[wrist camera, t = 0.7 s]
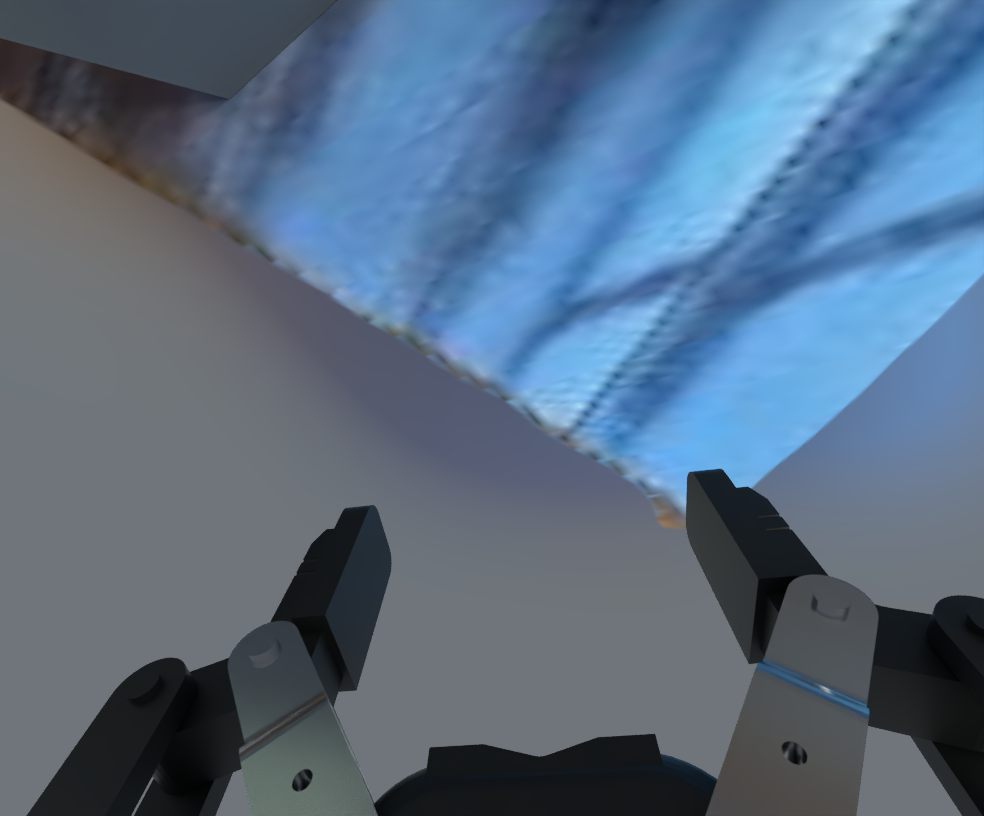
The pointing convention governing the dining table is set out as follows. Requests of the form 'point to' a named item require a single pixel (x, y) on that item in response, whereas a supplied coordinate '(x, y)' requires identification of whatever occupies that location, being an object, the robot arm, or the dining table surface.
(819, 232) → the dining table surface
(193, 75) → the blue-grey rectangular block
